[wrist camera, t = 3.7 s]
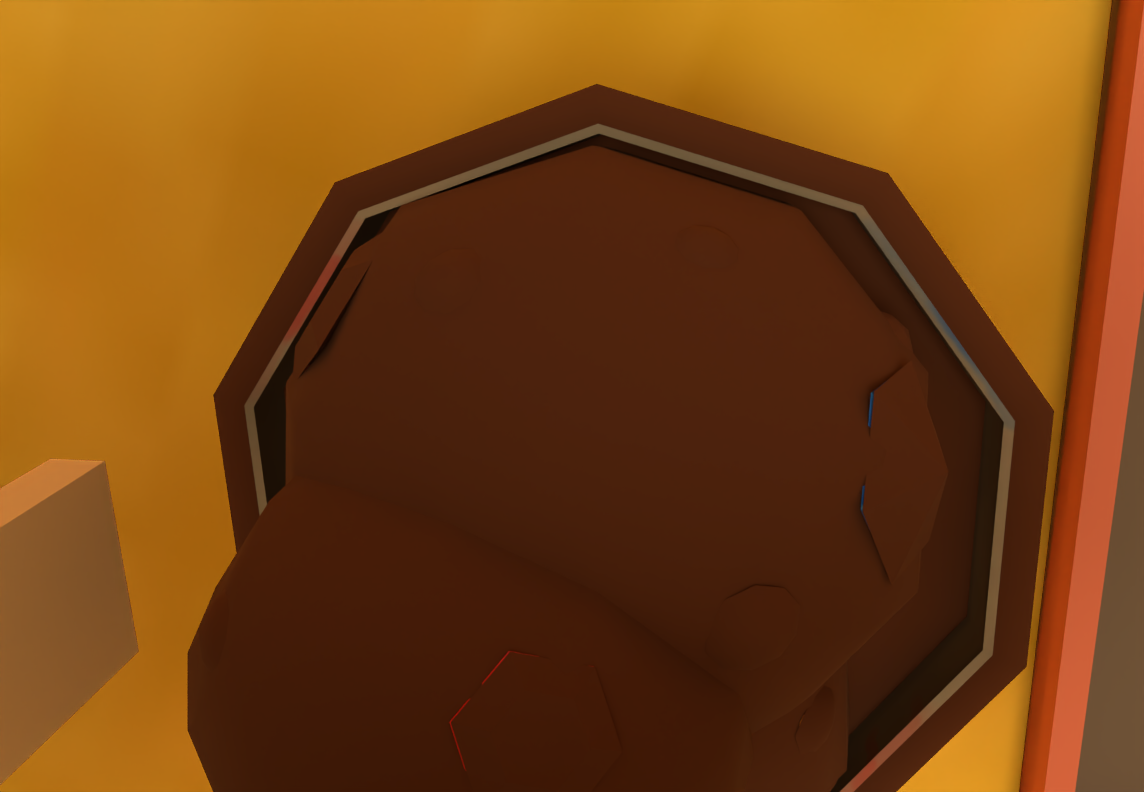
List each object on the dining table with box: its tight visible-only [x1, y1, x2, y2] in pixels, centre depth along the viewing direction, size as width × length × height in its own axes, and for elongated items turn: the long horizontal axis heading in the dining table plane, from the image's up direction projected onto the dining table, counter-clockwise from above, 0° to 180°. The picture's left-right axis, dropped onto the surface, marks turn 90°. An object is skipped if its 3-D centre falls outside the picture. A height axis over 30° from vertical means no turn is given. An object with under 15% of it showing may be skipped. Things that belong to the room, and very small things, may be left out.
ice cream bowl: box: [188, 84, 1054, 792], centre depth 16 cm, size 11×11×15 cm
